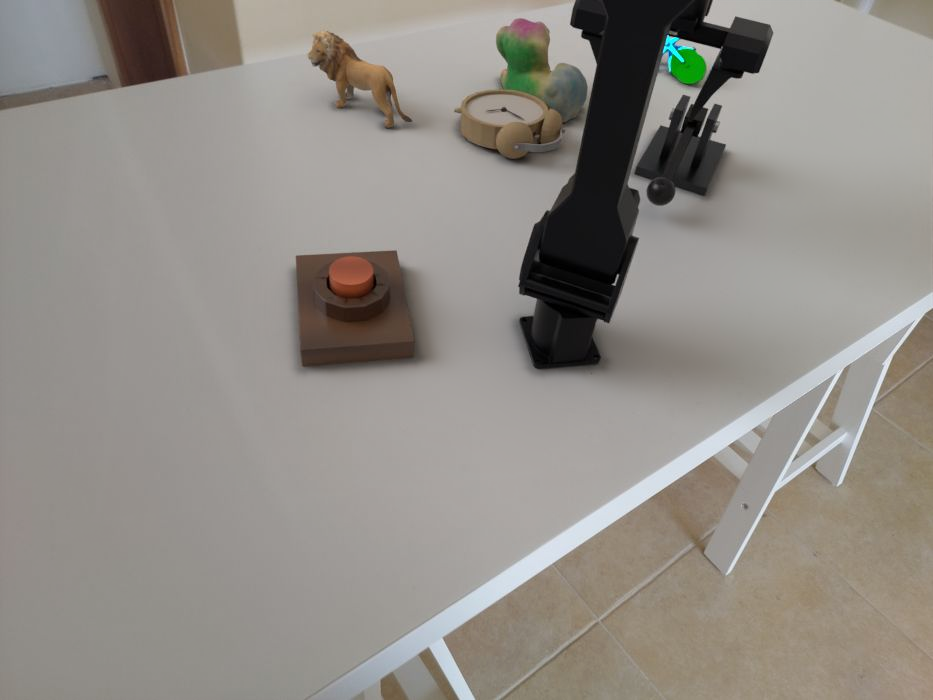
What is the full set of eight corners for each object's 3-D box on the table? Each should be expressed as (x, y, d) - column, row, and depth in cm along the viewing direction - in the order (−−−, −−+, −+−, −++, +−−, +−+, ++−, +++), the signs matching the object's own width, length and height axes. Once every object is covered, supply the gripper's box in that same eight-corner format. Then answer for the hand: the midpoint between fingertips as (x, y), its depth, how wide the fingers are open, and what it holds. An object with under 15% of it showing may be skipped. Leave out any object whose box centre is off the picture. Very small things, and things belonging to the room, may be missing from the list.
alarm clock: (506, 82, 100) (587, 110, 91) (506, 117, 103) (584, 148, 94) (441, 102, 95) (520, 134, 86) (443, 139, 98) (520, 174, 89)
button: (375, 297, 67) (375, 283, 66) (331, 300, 66) (330, 285, 65) (371, 269, 70) (371, 255, 69) (328, 271, 69) (327, 257, 68)
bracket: (704, 196, 90) (725, 139, 85) (634, 174, 92) (650, 117, 87) (723, 152, 98) (744, 97, 92) (658, 132, 100) (674, 78, 95)
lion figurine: (304, 103, 98) (299, 35, 91) (326, 87, 101) (322, 20, 95) (402, 134, 94) (404, 66, 88) (421, 116, 98) (424, 50, 91)
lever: (667, 215, 84) (673, 194, 81) (640, 206, 84) (646, 185, 82) (706, 128, 92) (713, 106, 90) (681, 121, 93) (688, 99, 91)
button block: (413, 357, 67) (415, 326, 64) (302, 366, 65) (298, 335, 62) (396, 266, 76) (396, 235, 73) (297, 272, 74) (294, 240, 71)
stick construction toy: (630, 44, 114) (669, 3, 111) (644, 59, 120) (682, 21, 117) (677, 97, 110) (720, 57, 107) (690, 110, 116) (730, 72, 113)
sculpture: (595, 111, 103) (611, 40, 96) (557, 130, 98) (571, 57, 91) (516, 72, 109) (525, 2, 102) (477, 88, 105) (484, 17, 97)
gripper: (805, -54, 70) (746, 100, 81) (616, -95, 74) (585, 57, 85) (794, -19, 62) (730, 146, 73) (584, -66, 66) (555, 96, 78)
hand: (647, 108), depth 78 cm, fingers open, 9 cm apart
